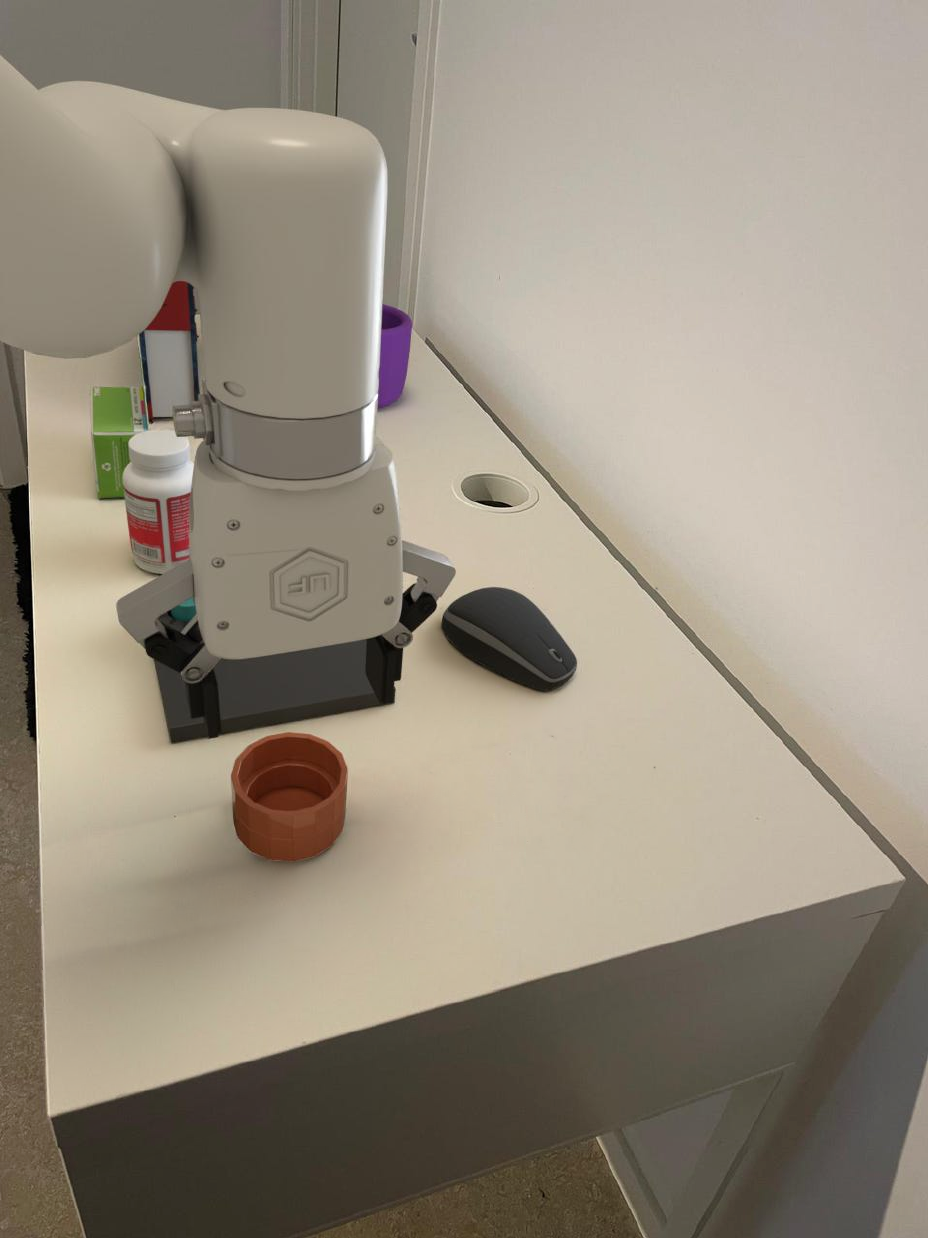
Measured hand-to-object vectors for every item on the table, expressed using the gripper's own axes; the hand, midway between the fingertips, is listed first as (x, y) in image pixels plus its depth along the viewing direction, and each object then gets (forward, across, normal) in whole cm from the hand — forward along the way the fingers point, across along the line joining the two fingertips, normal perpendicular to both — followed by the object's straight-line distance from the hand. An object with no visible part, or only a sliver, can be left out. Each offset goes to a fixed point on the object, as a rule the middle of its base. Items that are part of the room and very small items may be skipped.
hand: (297, 704), depth 51 cm
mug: (+10, +24, +67) cm, 72 cm away
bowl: (+10, 0, 0) cm, 10 cm away
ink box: (+10, -6, +48) cm, 49 cm away
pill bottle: (+10, -4, +32) cm, 34 cm away
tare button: (+7, -3, +20) cm, 22 cm away
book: (+10, +2, +72) cm, 72 cm away
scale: (+10, +2, +16) cm, 19 cm away
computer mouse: (+10, +20, +13) cm, 26 cm away
